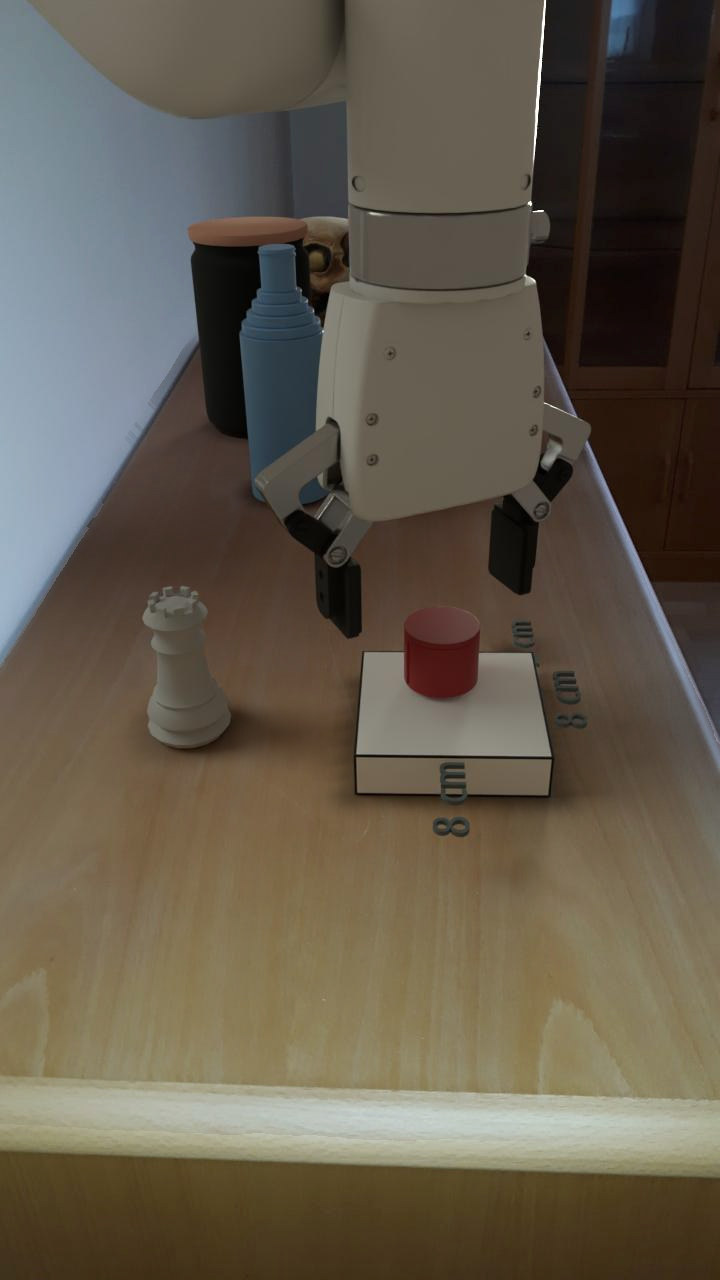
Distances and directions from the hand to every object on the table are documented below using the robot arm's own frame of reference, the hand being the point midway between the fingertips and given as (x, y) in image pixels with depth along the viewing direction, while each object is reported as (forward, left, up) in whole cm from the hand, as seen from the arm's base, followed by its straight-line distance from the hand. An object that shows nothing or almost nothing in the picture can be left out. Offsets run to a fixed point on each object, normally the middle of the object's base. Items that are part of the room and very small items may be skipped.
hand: (428, 603), depth 50 cm
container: (+3, -2, -7) cm, 8 cm away
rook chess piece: (-12, -4, -7) cm, 15 cm away
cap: (+1, 0, -4) cm, 4 cm away
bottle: (-17, +29, -7) cm, 34 cm away
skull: (-32, +89, -7) cm, 95 cm away
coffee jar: (-25, +45, -7) cm, 52 cm away
